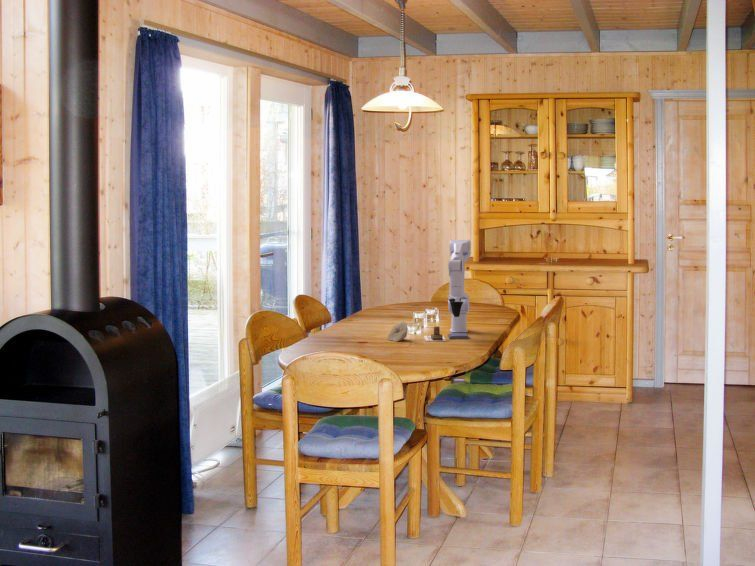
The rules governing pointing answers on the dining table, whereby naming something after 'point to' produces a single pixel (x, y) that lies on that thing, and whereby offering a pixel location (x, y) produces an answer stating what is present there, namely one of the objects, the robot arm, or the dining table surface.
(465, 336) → the ink pad
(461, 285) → the robot arm
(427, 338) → the sheet
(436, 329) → the stamp
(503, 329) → the dining table surface
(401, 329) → the stone
